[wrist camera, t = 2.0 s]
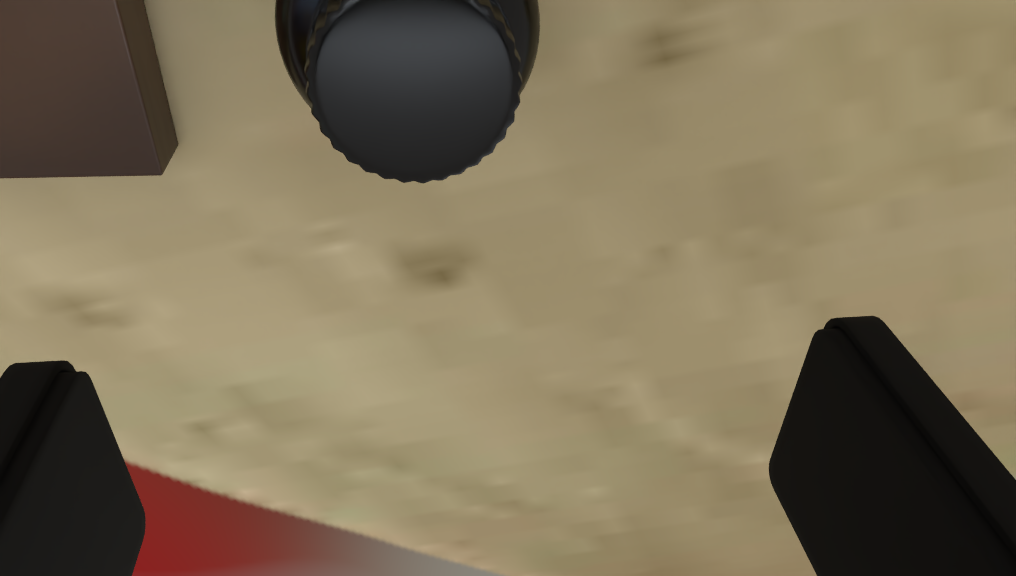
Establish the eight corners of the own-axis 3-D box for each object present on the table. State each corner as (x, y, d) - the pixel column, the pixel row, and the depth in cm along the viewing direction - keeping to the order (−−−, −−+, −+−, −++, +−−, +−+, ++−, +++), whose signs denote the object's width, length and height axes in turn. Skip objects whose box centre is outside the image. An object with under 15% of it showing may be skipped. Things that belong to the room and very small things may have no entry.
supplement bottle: (359, 81, 28) (340, 260, 19) (264, -109, 24) (176, -2, 15) (530, 12, 28) (601, 163, 18) (461, -195, 23) (504, -142, 14)
